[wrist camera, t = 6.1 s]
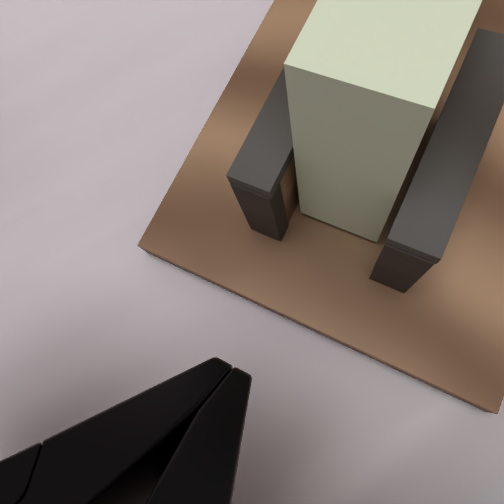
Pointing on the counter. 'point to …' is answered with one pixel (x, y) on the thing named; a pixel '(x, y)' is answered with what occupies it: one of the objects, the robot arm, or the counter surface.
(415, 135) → the bar
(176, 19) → the counter surface
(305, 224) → the wooden channel stand
